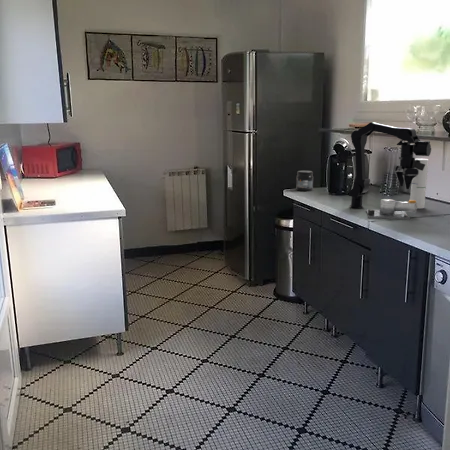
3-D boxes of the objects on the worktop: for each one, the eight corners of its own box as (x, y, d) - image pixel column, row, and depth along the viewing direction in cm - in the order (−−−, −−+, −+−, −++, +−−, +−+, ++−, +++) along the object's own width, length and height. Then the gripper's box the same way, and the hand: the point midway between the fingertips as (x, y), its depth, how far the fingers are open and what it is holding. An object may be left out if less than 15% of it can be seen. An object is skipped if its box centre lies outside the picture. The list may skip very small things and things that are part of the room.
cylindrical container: (413, 205, 259) (417, 158, 254) (426, 207, 254) (431, 159, 249) (407, 207, 254) (411, 159, 249) (420, 209, 249) (424, 160, 244)
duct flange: (365, 211, 244) (365, 204, 243) (403, 212, 241) (404, 205, 240) (368, 218, 229) (368, 210, 228) (409, 219, 225) (410, 212, 225)
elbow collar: (380, 213, 232) (381, 200, 230) (378, 210, 238) (379, 198, 237) (416, 215, 229) (418, 201, 227) (414, 212, 235) (415, 199, 234)
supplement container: (305, 188, 317) (305, 170, 314) (316, 190, 308) (317, 171, 305) (292, 189, 311) (293, 171, 308) (303, 192, 303) (304, 172, 300)
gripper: (431, 156, 222) (428, 190, 226) (417, 153, 241) (414, 184, 244) (406, 156, 223) (404, 190, 226) (394, 153, 241) (392, 184, 245)
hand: (404, 187), depth 235 cm, fingers open, 9 cm apart
